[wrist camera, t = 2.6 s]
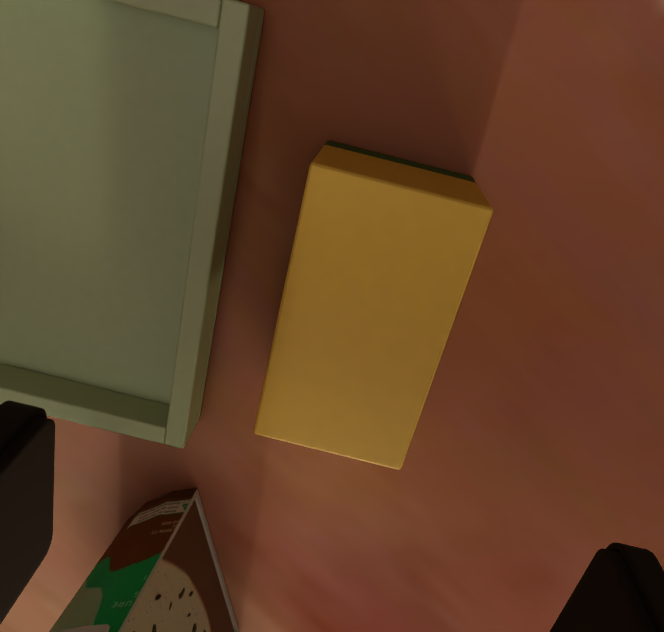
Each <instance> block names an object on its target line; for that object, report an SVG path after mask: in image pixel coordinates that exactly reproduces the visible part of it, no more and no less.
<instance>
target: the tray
mask: <svg viewBox="0 0 664 632" xmlns="http://www.w3.org/2000/svg"><path fill="white" fill-rule="evenodd" d="M263 18H264V9H263V8H260V7H257V6H254V5H251V4H249V3H245V2H241V1H237V0H0V404H2V403H4V402H5V401H9V400H10V401H15V402H19V403H23V404H27V405H32V406H36V407H40V408H43V409H44V410H45V412H46V415H48V416H52V417H56V418H60V419H64V420H68V421H72V422H76V423H80V424H84V425H88V426H92V427H96V428H100V429H105V430H109V431H113V432H117V433H121V434H125V435H129V436H133V437H137V438H141V439H145V440H149V441H153V442H157V443H161V444H163V443H165V444H166V445H169V446H173V447H177V448H181V449H183V448H184V447H185V445H186V443H187V441H188V439H189V437H190V436H191V434H192V432H193V430H194V428H195V426H196V424H197V423H198V421H199V419H200V413H201V407H202V400H203V394H204V388H205V381H206V375H207V369H208V363H209V356H210V350H211V344H212V338H213V331H214V325H215V319H216V313H217V306H218V300H219V294H220V287H221V281H222V275H223V269H224V262H225V256H226V250H227V244H228V237H229V231H230V225H231V219H232V212H233V206H234V200H235V193H236V187H237V181H238V175H239V168H240V162H241V156H242V150H243V143H244V137H245V131H246V125H247V118H248V112H249V106H250V99H251V93H252V87H253V81H254V74H255V68H256V62H257V56H258V49H259V43H260V37H261V30H262V24H263Z"/></svg>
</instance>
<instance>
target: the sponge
mask: <svg viewBox="0 0 664 632" xmlns="http://www.w3.org/2000/svg"><path fill="white" fill-rule="evenodd" d="M492 213H493V208H492V206H491V205H490V203H489V202H488V200H487V199H486V197H485V196H484V194H483V193H482V191H481V189H480V188H479V186H478V185H477V184H476V182H475V180H474V179H473V177H471V176H468V175H464V174H460V173H456V172H452V171H448V170H444V169H440V168H436V167H432V166H428V165H424V164H420V163H416V162H413V161H409V160H405V159H401V158H397V157H393V156H389V155H385V154H381V153H377V152H373V151H369V150H365V149H361V148H357V147H353V146H349V145H345V144H342V143H338V142H334V141H327V142H326V144H325V145H324V146H323V148H322V149H321V150H320V152H319V153H318V154H317V156H316V157H315V158H314V160H313V161H312V162H311V164H310V166H309V171H308V176H307V180H306V185H305V190H304V195H303V199H302V204H301V209H300V214H299V218H298V223H297V228H296V233H295V237H294V242H293V247H292V252H291V256H290V261H289V266H288V271H287V275H286V280H285V285H284V290H283V294H282V299H281V304H280V309H279V313H278V318H277V323H276V328H275V332H274V337H273V342H272V347H271V351H270V356H269V361H268V366H267V370H266V375H265V380H264V385H263V389H262V394H261V399H260V404H259V408H258V413H257V418H256V422H255V427H254V433H255V434H257V435H261V436H265V437H270V438H274V439H278V440H282V441H286V442H290V443H294V444H298V445H302V446H306V447H310V448H314V449H318V450H322V451H326V452H330V453H334V454H338V455H342V456H346V457H350V458H354V459H358V460H362V461H366V462H370V463H374V464H378V465H382V466H386V467H390V468H394V469H401V467H402V465H403V462H404V459H405V456H406V453H407V451H408V448H409V445H410V442H411V439H412V437H413V434H414V431H415V428H416V426H417V423H418V420H419V417H420V414H421V412H422V409H423V406H424V403H425V400H426V398H427V395H428V392H429V389H430V386H431V384H432V381H433V378H434V375H435V372H436V370H437V367H438V364H439V361H440V358H441V356H442V353H443V350H444V347H445V344H446V342H447V339H448V336H449V333H450V330H451V328H452V325H453V322H454V319H455V316H456V314H457V311H458V308H459V305H460V302H461V300H462V297H463V294H464V291H465V288H466V286H467V283H468V280H469V277H470V274H471V272H472V269H473V266H474V263H475V260H476V258H477V255H478V252H479V249H480V246H481V244H482V241H483V238H484V235H485V232H486V230H487V227H488V224H489V221H490V218H491V216H492Z"/></svg>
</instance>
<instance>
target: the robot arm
mask: <svg viewBox="0 0 664 632" xmlns="http://www.w3.org/2000/svg"><path fill="white" fill-rule="evenodd" d="M54 449H55V423H54V421H53V420H51V419H47V416H46V412H45V410H44V409H43V408H40V407H36V406H32V405H27V404H23V403H19V402H15V401H10V400H9V401H5V402H4V403H2V404H1V405H0V624H1V623H2V621H3V620H4V618H5V617H6V615H7V613H8V612H9V610H10V609H11V607H12V606H13V604H14V603H15V601H16V600H17V598H18V597H19V595H20V594H21V592H22V591H23V589H24V588H25V586H26V585H27V583H28V582H29V580H30V579H31V577H32V576H33V574H34V573H35V571H36V570H37V568H38V567H39V565H40V564H41V562H42V561H43V559H44V557H45V556H46V554H47V552H48V550H49V547H50V544H51V540H52V534H53V493H54ZM550 632H664V571H663V569H662V567H661V565H660V563H659V562H658V560H657V558H656V557H655V555H654V554H653V553H652V552H651V551H649V550H646V549H642V548H638V547H633V546H629V545H625V544H620V543H612V544H610V545H609V546H608V547H607V548H606V549H600V550H598V552H597V553H596V554H595V556H594V558H593V559H592V561H591V563H590V564H589V566H588V568H587V569H586V571H585V573H584V575H583V576H582V578H581V580H580V581H579V583H578V585H577V586H576V588H575V590H574V591H573V593H572V595H571V597H570V598H569V600H568V602H567V603H566V605H565V607H564V608H563V610H562V612H561V613H560V615H559V617H558V618H557V620H556V622H555V624H554V625H553V627H552V629H551V630H550Z"/></svg>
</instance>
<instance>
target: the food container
mask: <svg viewBox="0 0 664 632" xmlns="http://www.w3.org/2000/svg"><path fill="white" fill-rule="evenodd" d="M49 632H239V628H238V625H237V622H236V618H235V615H234V611H233V608H232V605H231V601H230V598H229V594H228V591H227V588H226V584H225V581H224V577H223V574H222V571H221V567H220V564H219V560H218V557H217V554H216V550H215V547H214V544H213V540H212V537H211V533H210V530H209V527H208V523H207V520H206V516H205V513H204V510H203V506H202V503H201V499H200V496H199V493H198V489H189V490H181V491H173V492H171V493H168V494H166V495H164V496H161V497H159V498H156V499H154V500H151V501H149V502H147V503H146V504H144V505H143V506H142V507H141V508H140V509H139V510H138V511H137V512H136V513H135V514H134V515H132V516H131V517H130V518H129V519H128V520H127V522H126V523H125V525H124V526H123V528H122V529H121V530H120V532H119V533H118V535H117V536H116V538H115V539H114V540H113V542H112V543H111V545H110V546H109V548H108V549H107V550H106V552H105V553H104V555H103V556H102V557H101V559H100V560H99V562H98V563H97V565H96V566H95V567H94V569H93V570H92V572H91V573H90V575H89V576H88V577H87V579H86V580H85V582H84V583H83V585H82V586H81V587H80V589H79V590H78V592H77V593H76V594H75V596H74V597H73V599H72V600H71V602H70V603H69V604H68V606H67V607H66V609H65V610H64V612H63V613H62V614H61V616H60V617H59V619H58V620H57V622H56V623H55V624H54V626H53V627H52V629H51V630H50V631H49Z"/></svg>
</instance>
